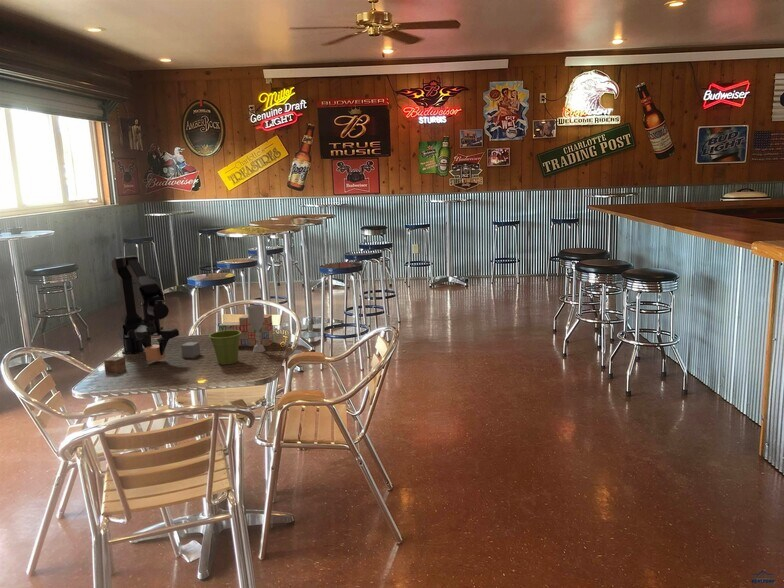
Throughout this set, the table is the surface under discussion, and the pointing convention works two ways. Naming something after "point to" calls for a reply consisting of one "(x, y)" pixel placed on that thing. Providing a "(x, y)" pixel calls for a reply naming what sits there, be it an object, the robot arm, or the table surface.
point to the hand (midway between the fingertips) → (155, 355)
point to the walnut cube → (115, 364)
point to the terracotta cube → (154, 353)
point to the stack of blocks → (251, 331)
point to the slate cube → (190, 349)
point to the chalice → (256, 323)
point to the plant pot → (226, 346)
